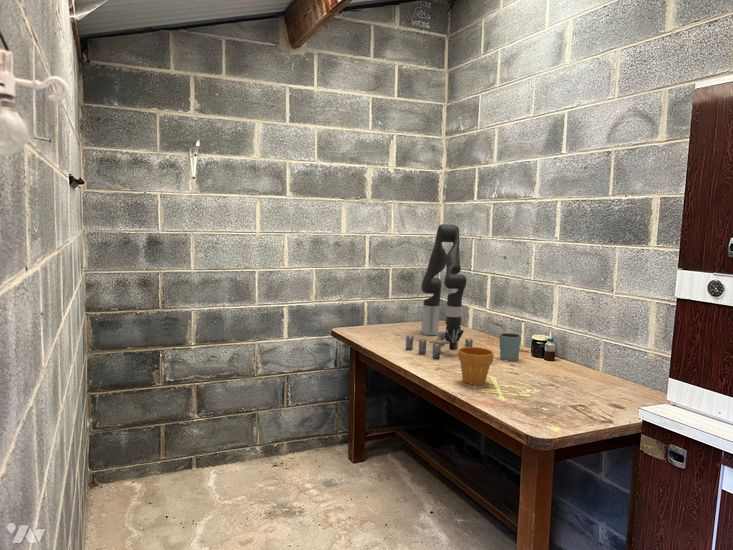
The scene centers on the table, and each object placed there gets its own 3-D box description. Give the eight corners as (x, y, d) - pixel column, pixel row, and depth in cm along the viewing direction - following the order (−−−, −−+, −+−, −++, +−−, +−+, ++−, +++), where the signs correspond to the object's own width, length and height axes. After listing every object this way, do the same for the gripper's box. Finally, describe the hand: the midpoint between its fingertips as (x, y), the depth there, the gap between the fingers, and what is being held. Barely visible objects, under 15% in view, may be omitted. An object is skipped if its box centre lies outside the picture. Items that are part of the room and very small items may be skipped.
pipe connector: (448, 349, 271) (448, 330, 270) (449, 354, 261) (450, 334, 260) (428, 348, 271) (429, 329, 271) (428, 353, 262) (429, 333, 261)
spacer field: (404, 349, 268) (404, 335, 268) (441, 344, 283) (441, 331, 282) (435, 359, 249) (436, 345, 248) (473, 353, 264) (474, 339, 263)
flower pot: (498, 382, 216) (499, 351, 215) (481, 389, 206) (483, 357, 204) (467, 374, 225) (469, 345, 224) (450, 381, 215) (451, 350, 213)
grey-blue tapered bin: (523, 361, 252) (525, 336, 250) (505, 362, 248) (506, 337, 247) (511, 356, 261) (513, 332, 260) (493, 357, 258) (495, 333, 257)
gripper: (458, 312, 263) (456, 346, 265) (438, 314, 256) (436, 349, 257) (469, 315, 257) (467, 349, 259) (449, 317, 250) (447, 353, 251)
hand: (452, 349), depth 258 cm, fingers closed
